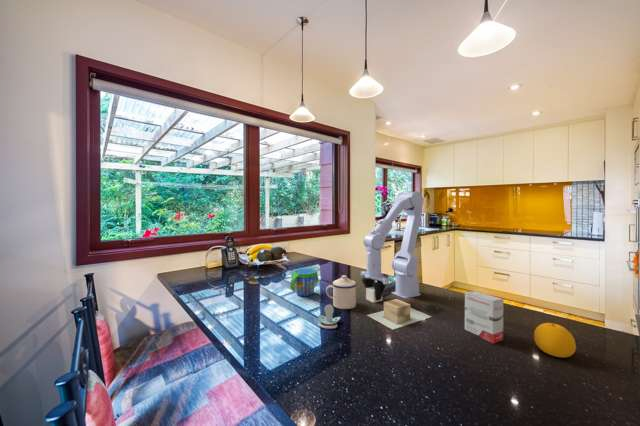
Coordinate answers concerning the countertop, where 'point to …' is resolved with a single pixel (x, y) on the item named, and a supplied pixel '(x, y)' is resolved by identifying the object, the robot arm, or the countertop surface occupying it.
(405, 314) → the oak block
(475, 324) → the ink box
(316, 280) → the snack cup
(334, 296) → the teacup with lid
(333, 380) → the countertop surface
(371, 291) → the cream block
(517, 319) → the countertop surface
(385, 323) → the plate
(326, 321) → the pacifier
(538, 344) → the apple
